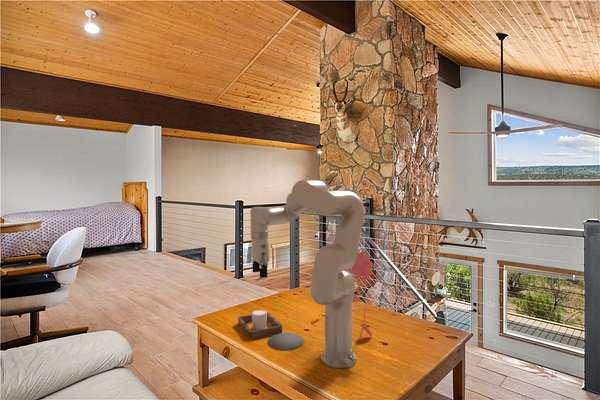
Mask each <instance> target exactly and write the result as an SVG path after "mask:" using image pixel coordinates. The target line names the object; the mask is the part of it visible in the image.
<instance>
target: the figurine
mask: <svg viewBox="0 0 600 400" xmlns="http://www.w3.org/2000/svg"><path fill="white" fill-rule="evenodd" d="M370 258H371V255H370V254H369V253H366V251H365V250H364V249H363V250H362V251H360V252H359V251H358V252H357V257H356V261H355V264H354V265H353V266H352V267H351V268H350V272H351V273H352V277H353V278H355V279H354V283H356V284H358V288H357V293H356V295H355V294H354V296H353V301H354V302H355V303H358V302H359V303H360V305H361V306H362V307H363V309H364V311H363V323H360V322H355V324H356V325H357V324H358V325H360V326H361V330H360V333H359V336H358V340H359V341H360V340H361V338H362V334H363V331H364V332H366V333H367V334H368V335H369V336H370V337H371V338H372V337H373V334H372V332H371V330H370V329H369V328H368V327H370V328H372V329H375V330H376V331H378V329H377V328H375V327H372V326H371V325H368V324H365V320H366V308H365V306H364V305H363V303H362V302H361V300H360V297H359V292H360V291H359V290H360V288H361V287H363V285H364V284H365V282H366V281H367V279H368V278H369V277H370V276H371V275H372V276H373V277H374V278H375V279H376V280H377V281H378V282H380V283H381V285H383V286H385V284H384V283H383V281H382V280H381V279H380V278H379V277H378V276H377V275H376V274H375V273H374V272H373V270H372V268H374V263H373V262H372V261H371V260H370ZM360 278H362V279H363V281H362V282H359V281H357V280H359V279H360ZM371 345H372V343H371V344H369V346H371Z"/></svg>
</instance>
